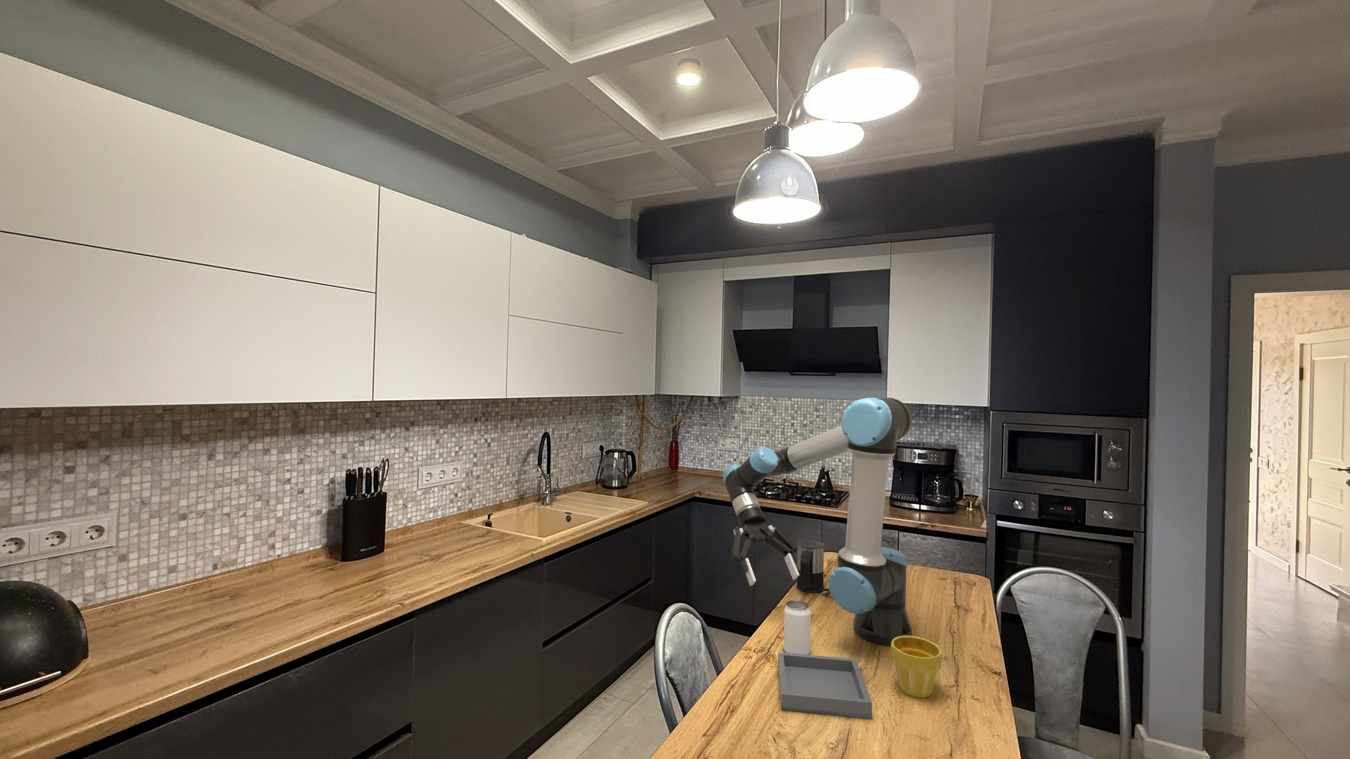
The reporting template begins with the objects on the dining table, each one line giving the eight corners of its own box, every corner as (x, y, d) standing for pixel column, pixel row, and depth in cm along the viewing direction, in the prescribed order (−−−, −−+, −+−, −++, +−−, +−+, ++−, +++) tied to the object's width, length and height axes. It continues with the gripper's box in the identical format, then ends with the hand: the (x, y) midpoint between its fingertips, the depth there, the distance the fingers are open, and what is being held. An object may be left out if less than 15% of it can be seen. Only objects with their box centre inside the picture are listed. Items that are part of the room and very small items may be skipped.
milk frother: (795, 582, 187) (795, 538, 188) (842, 585, 185) (842, 541, 185) (798, 598, 173) (799, 551, 173) (849, 601, 171) (850, 554, 171)
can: (810, 659, 134) (811, 610, 134) (783, 656, 136) (784, 608, 136) (809, 647, 141) (810, 600, 141) (783, 644, 142) (784, 598, 142)
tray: (855, 672, 128) (855, 658, 128) (871, 719, 110) (872, 702, 110) (778, 665, 131) (778, 652, 131) (781, 710, 113) (781, 694, 113)
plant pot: (938, 709, 114) (938, 662, 114) (886, 693, 120) (887, 648, 120) (943, 686, 123) (944, 642, 123) (895, 672, 129) (895, 631, 129)
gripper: (779, 516, 169) (807, 581, 155) (706, 522, 160) (729, 592, 146) (789, 502, 164) (819, 568, 150) (714, 508, 155) (739, 579, 141)
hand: (775, 580), depth 148 cm, fingers open, 13 cm apart
